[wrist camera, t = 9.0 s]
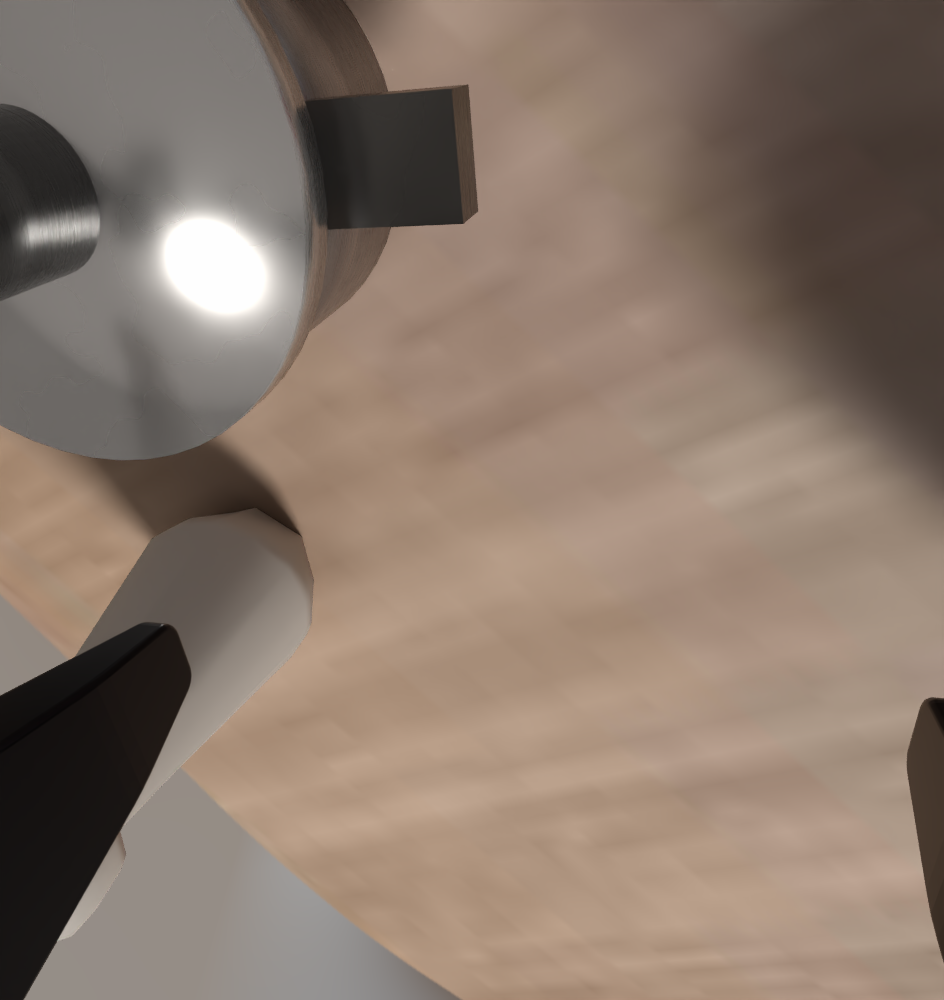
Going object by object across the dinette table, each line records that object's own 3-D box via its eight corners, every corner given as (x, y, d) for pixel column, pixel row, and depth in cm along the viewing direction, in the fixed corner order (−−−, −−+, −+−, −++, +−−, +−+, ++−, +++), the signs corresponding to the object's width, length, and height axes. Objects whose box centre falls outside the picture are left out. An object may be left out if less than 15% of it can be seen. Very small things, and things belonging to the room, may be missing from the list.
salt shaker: (154, 501, 27) (-205, 818, 16) (289, 468, 25) (-18, 807, 14) (232, 630, 29) (-33, 981, 18) (361, 611, 27) (148, 993, 16)
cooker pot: (500, -145, 16) (412, -229, 11) (525, 333, 21) (473, 430, 16) (-112, -46, 19) (-389, -74, 14) (34, 337, 24) (-134, 415, 19)
